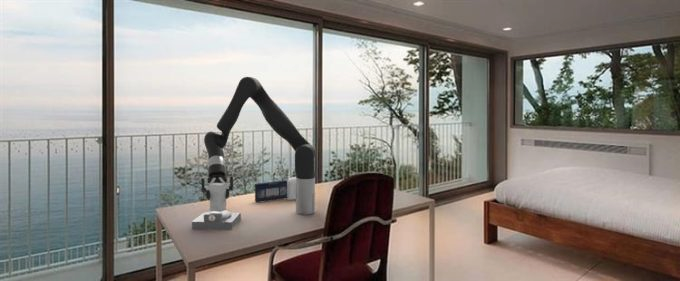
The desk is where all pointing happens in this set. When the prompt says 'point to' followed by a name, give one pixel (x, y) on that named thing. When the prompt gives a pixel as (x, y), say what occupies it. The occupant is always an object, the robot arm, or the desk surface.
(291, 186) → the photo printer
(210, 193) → the skincare box
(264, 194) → the vhs cassette tape
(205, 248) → the desk surface
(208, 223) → the scale
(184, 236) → the desk surface
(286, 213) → the desk surface
